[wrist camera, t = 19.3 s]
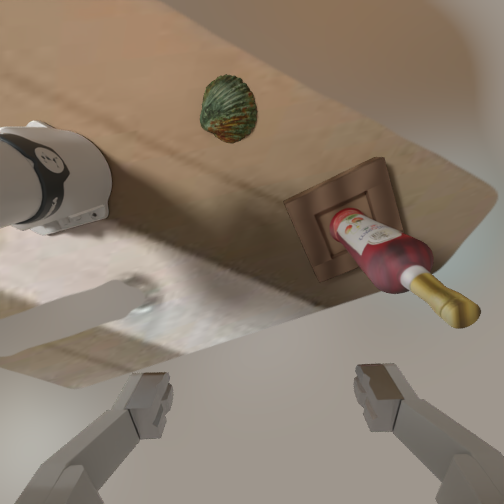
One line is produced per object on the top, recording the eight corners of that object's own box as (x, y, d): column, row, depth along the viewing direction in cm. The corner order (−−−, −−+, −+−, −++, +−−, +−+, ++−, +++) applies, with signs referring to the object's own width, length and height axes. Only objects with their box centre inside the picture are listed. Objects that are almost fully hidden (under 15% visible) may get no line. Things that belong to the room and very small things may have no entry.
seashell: (265, 125, 38) (208, 150, 39) (265, 130, 42) (213, 152, 43) (242, 55, 35) (181, 84, 37) (244, 66, 39) (189, 93, 40)
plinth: (315, 275, 52) (319, 283, 49) (283, 201, 46) (285, 204, 43) (397, 241, 49) (407, 247, 46) (374, 157, 43) (384, 157, 40)
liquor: (331, 247, 48) (424, 358, 22) (321, 214, 45) (412, 295, 19) (368, 233, 47) (511, 334, 21) (360, 199, 44) (511, 264, 18)
